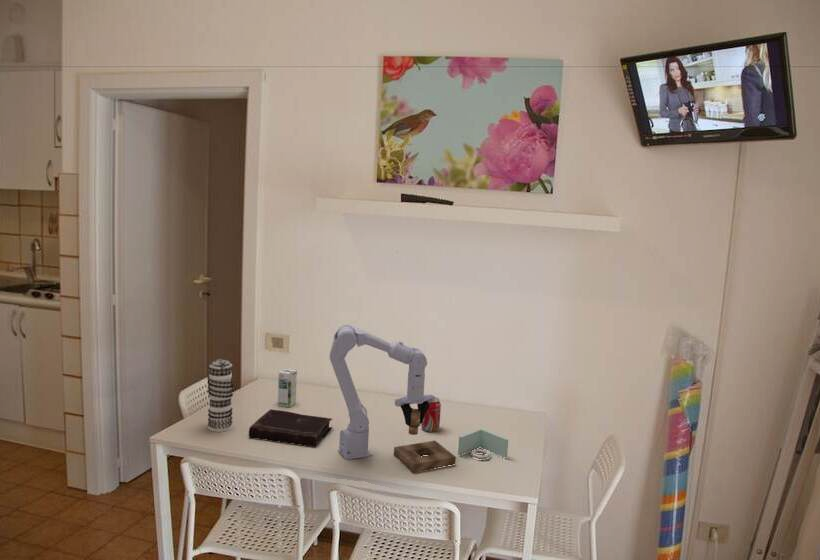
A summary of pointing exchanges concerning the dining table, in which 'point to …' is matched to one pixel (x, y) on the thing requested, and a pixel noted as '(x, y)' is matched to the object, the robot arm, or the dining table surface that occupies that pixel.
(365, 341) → the robot arm
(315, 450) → the dining table surface
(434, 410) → the soda can
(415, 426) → the peg
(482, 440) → the l-shaped corner panel
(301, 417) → the diary
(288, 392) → the syrup box
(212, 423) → the decorative candle
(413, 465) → the board
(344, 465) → the dining table surface
